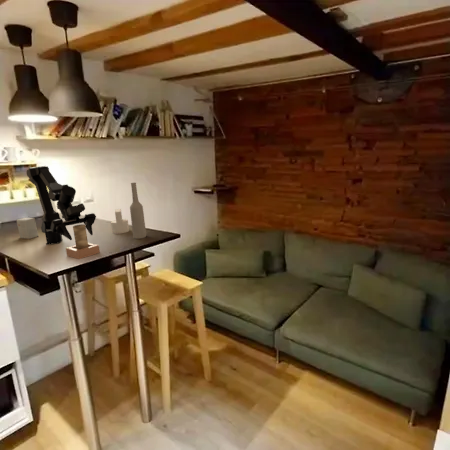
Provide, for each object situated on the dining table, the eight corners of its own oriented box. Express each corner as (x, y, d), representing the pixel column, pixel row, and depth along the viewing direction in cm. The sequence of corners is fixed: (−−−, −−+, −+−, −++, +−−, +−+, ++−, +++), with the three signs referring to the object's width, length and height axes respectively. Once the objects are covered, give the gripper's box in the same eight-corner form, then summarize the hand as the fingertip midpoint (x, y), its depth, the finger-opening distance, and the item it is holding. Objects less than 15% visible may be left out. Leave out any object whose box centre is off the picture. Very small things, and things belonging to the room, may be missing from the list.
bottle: (139, 234, 178) (133, 182, 172) (149, 235, 175) (143, 182, 168) (130, 238, 173) (123, 183, 166) (140, 239, 169) (133, 183, 163)
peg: (75, 255, 148) (70, 227, 145) (81, 252, 153) (76, 224, 150) (85, 255, 148) (81, 227, 144) (91, 252, 152) (87, 224, 149)
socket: (79, 259, 143) (77, 251, 142) (66, 255, 149) (65, 248, 148) (99, 252, 151) (98, 245, 150) (87, 249, 157) (86, 242, 156)
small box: (38, 236, 188) (35, 217, 185) (29, 239, 183) (25, 220, 180) (29, 235, 191) (25, 217, 189) (19, 238, 186) (15, 219, 184)
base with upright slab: (129, 232, 185) (126, 211, 182) (112, 234, 182) (109, 212, 180) (128, 228, 193) (126, 208, 190) (112, 230, 191) (109, 210, 188)
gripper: (48, 202, 140) (63, 231, 136) (91, 195, 154) (106, 221, 149) (44, 218, 148) (59, 246, 143) (85, 210, 161) (100, 236, 156)
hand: (82, 237), depth 147 cm, fingers open, 9 cm apart
